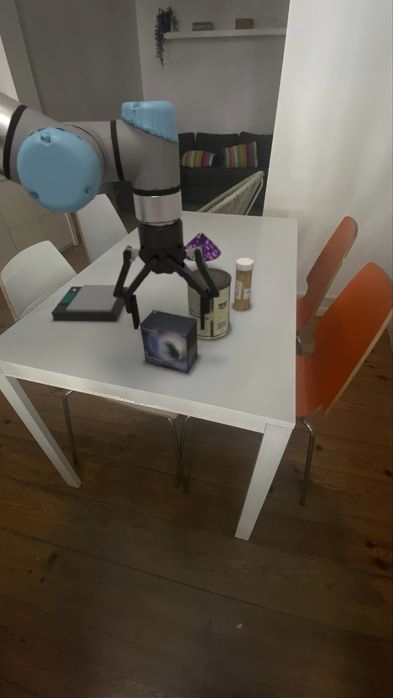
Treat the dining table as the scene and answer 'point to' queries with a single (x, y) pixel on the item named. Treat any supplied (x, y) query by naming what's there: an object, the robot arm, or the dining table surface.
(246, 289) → the sprinkles bottle
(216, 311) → the coffee can
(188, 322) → the small box
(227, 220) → the dining table surface
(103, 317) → the scale
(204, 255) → the decorative mushroom
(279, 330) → the dining table surface
